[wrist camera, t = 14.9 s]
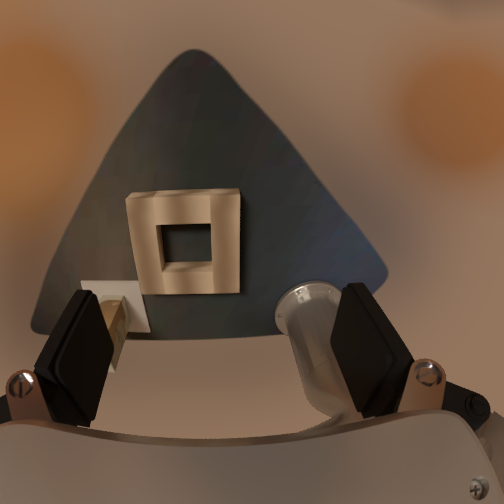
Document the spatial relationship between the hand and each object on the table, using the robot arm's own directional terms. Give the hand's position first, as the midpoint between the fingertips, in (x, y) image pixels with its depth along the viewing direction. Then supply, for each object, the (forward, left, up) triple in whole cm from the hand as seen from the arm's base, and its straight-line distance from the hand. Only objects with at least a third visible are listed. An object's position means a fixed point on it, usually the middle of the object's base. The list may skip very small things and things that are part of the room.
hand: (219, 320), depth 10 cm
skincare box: (+19, +23, -30) cm, 42 cm away
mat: (+19, +24, -30) cm, 43 cm away
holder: (+5, +11, -30) cm, 33 cm away
